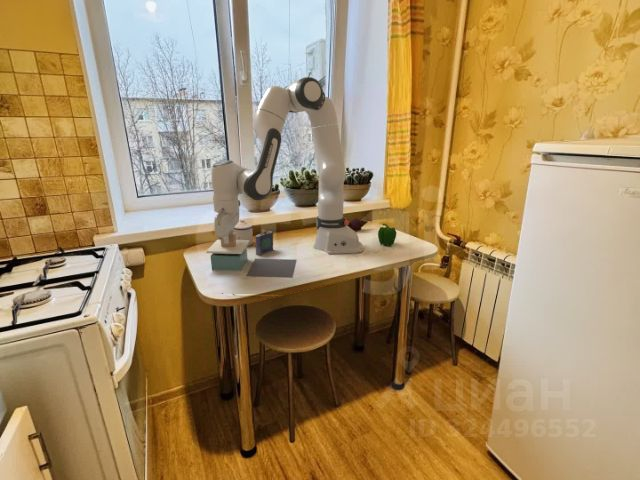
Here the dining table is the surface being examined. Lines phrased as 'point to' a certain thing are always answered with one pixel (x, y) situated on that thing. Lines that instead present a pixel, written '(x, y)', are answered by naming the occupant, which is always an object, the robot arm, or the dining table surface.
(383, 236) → the bell pepper
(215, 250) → the cream square piece
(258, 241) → the flask
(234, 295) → the dining table surface
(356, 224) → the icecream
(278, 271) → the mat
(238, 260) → the teal open box
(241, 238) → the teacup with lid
